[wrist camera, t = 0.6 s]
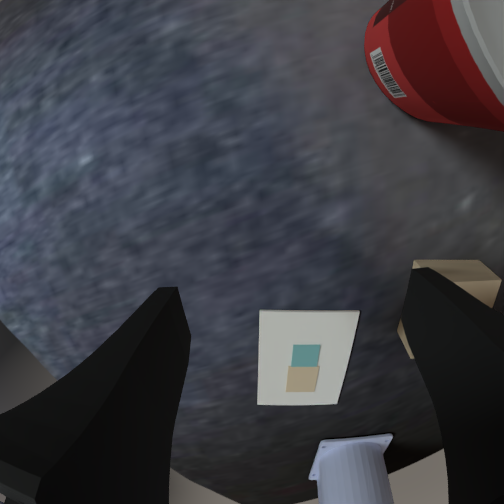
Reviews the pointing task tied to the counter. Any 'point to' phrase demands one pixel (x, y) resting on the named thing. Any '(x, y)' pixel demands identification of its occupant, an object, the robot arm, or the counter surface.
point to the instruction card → (303, 355)
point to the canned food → (441, 59)
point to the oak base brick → (461, 282)
